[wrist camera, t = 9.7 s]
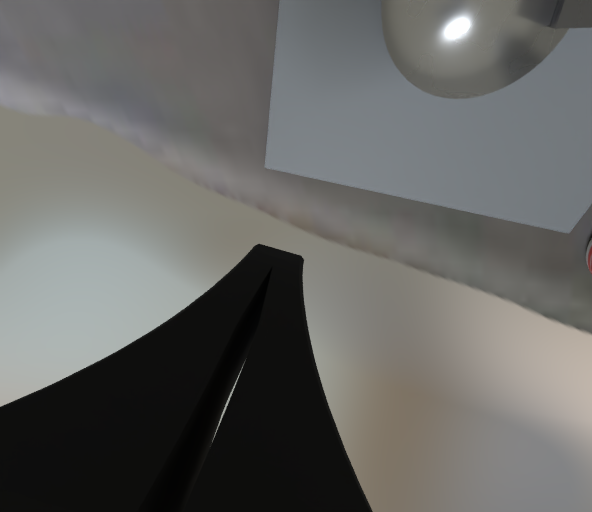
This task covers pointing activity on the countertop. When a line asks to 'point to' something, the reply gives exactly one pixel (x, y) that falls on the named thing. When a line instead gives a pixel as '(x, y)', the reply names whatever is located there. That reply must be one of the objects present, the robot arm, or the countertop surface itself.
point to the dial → (475, 40)
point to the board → (429, 122)
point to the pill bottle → (589, 256)
